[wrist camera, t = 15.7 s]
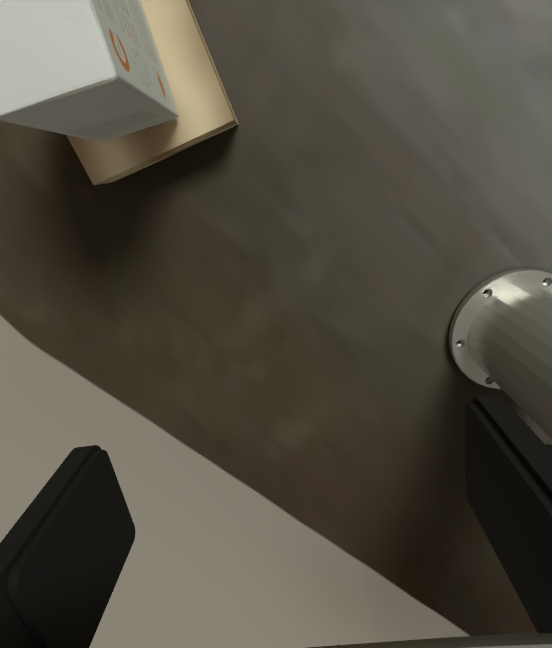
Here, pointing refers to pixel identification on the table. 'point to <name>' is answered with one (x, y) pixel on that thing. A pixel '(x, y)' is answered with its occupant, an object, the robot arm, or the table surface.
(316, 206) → the table surface
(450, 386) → the table surface
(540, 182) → the table surface
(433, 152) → the table surface
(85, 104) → the small box
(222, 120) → the birch block
